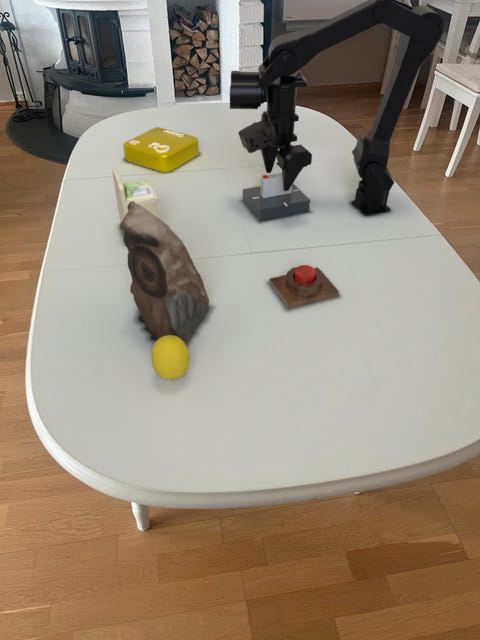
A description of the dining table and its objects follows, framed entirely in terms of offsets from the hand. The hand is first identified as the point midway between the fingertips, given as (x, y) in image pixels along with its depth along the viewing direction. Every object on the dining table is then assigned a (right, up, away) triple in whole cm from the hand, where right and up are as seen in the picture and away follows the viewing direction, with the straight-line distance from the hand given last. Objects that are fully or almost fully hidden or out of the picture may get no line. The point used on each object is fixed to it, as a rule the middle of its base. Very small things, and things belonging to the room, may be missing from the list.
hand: (277, 181), depth 114 cm
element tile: (-29, +13, +24) cm, 39 cm away
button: (+3, -23, -21) cm, 31 cm away
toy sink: (-29, -12, -4) cm, 32 cm away
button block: (+3, -25, -19) cm, 32 cm away
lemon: (-18, -39, -35) cm, 56 cm away
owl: (-19, -31, -26) cm, 44 cm away
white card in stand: (0, -2, +2) cm, 3 cm away
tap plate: (0, -5, +4) cm, 6 cm away
